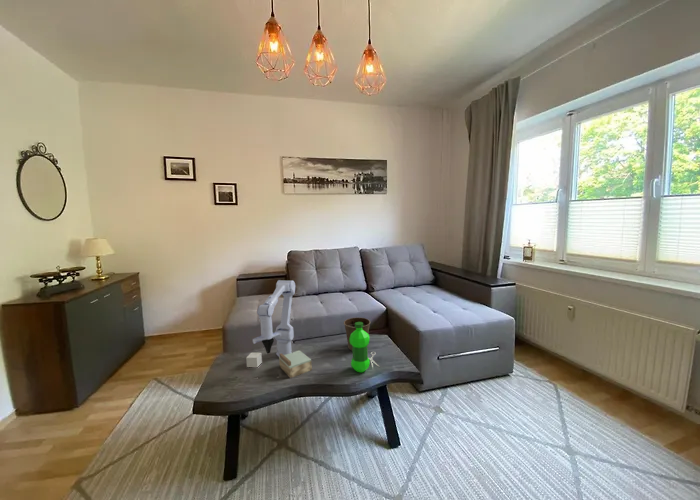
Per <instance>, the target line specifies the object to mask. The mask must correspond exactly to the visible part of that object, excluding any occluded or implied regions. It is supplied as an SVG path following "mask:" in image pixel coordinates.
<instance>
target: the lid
mask: <svg viewBox="0 0 700 500" xmlns="http://www.w3.org/2000/svg"><path fill="white" fill-rule="evenodd" d="M278 359H281V360H282V361H283V362H284V363H285V364H286V365H287V366H288V367H289V368H293V367H296V366H298V365H301V364H304V363H307V362H310V361H311V362H312V359H311V358H310V357H309V356H307V355H306V354H305V353H304V352H303V351H301V350H295V351H292V353H289V354H286V355H283V354H282V353H281V354H280V357H278Z"/></svg>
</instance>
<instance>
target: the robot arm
mask: <svg viewBox="0 0 700 500" xmlns="http://www.w3.org/2000/svg"><path fill="white" fill-rule="evenodd" d="M295 293H296V283H295V281H294V280H284V279H283V280H281V279H278V280H277V282H276V283H275V289H274V291H273V293H272V294H270V295H269V296H267V297H266V299H265V301H264V302H263V303H262V304H260V305H259V306H258V307H257V311H256V314H257V315H258V319H259V322H260V334H261V335H259V336H257V337H254V338H252V343H253V344H254V345H255V344H257V343H260V342H261V343H262V344H263V347H264V349H265V352H266V354H271V350H272V346H273V343H274V342H275V341H274V339H275V340H276V352H275V355H276V356H277V357H278V358H279V357H280V354H281V353H282V354H283V355H286V354H289V353H292V352H293V351H292V340H293V339H294V335H295V334H294V333H295V332H294V327H293V326H292V325H291V324H290V322H291V312H292V303H293V296H294V295H295ZM281 296H283V301H282V309H281V318H280V324H278V325H277V326H276V327H275V328H276V329H275V331H274V332H273V320H272V315H273V314H274V310H275V307H276V306H277V304H278V302H279V298H280V297H281Z"/></svg>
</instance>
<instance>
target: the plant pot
mask: <svg viewBox="0 0 700 500" xmlns="http://www.w3.org/2000/svg"><path fill="white" fill-rule="evenodd" d="M356 322H362V323H363V327H362V330H364V331H365V332H366V333H368V334H369V332H370V331H369V330H370V325H371V321H370V319H369V318H366V317H357V316H356V317H350V318H347V319H345V320H344V321H343V326H344V329H345V333H346V334H345V335H346V342H347V348H348V350H350V351H352V345H351V344H350V341H349V339H350V335H351V333H353V332H354V331H355V330H356V327H355V323H356ZM368 347H369V344H368V345H367V349H368Z"/></svg>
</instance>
